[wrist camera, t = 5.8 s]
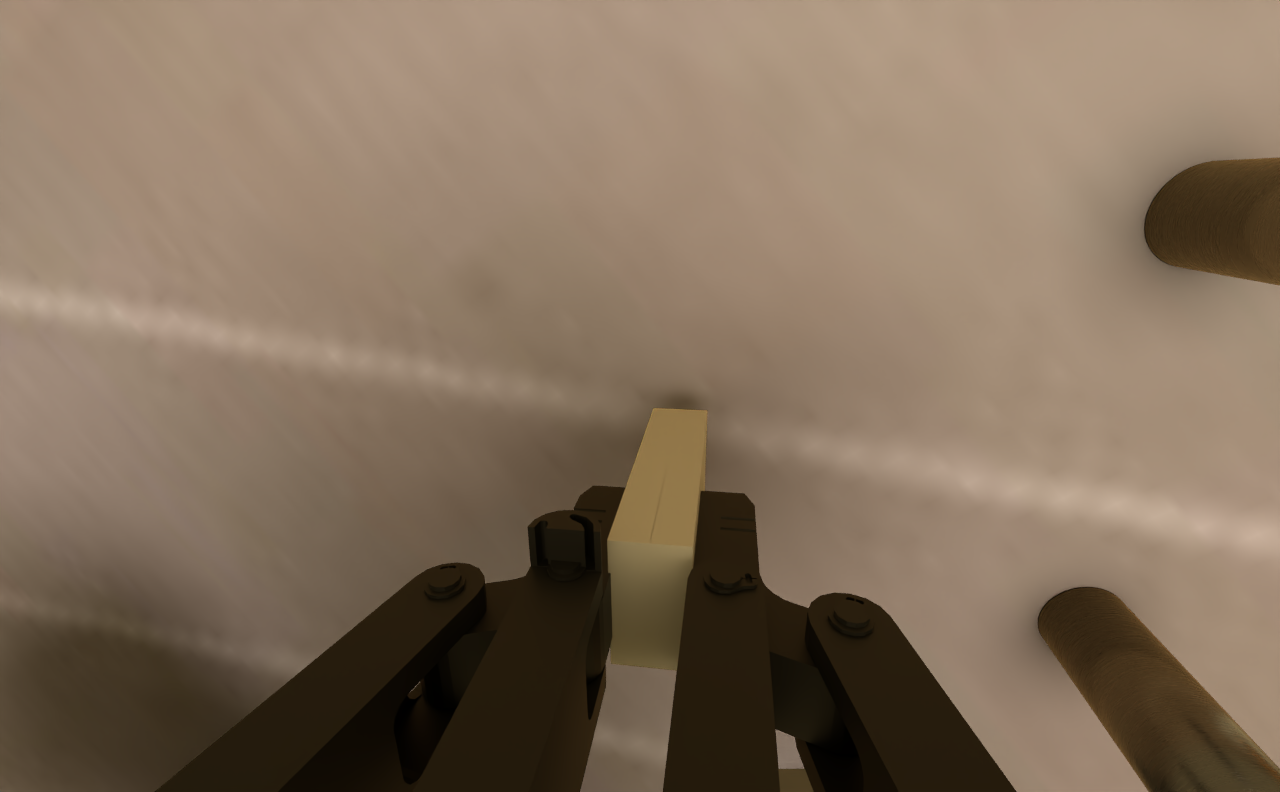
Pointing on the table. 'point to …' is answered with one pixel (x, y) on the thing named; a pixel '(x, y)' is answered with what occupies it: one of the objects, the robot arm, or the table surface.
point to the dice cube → (794, 780)
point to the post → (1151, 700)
